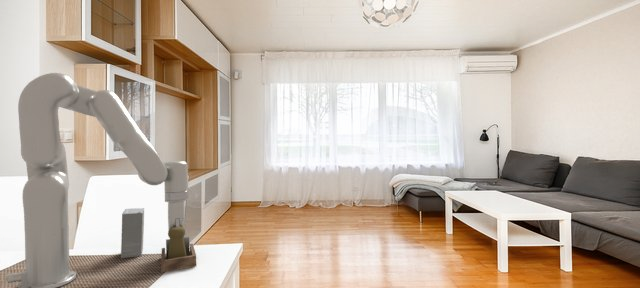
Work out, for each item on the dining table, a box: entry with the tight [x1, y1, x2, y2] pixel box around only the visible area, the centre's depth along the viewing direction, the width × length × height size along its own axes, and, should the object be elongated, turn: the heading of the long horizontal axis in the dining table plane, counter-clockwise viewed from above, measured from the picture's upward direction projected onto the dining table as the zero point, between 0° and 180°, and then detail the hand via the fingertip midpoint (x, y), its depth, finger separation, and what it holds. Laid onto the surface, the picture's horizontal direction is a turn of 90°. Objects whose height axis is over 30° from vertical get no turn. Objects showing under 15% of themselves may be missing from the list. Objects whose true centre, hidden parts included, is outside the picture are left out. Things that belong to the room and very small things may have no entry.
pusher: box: [165, 236, 190, 258], centre depth 108 cm, size 7×1×6 cm, turn 116°
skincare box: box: [120, 207, 145, 259], centre depth 114 cm, size 8×7×16 cm
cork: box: [167, 227, 187, 259], centre depth 104 cm, size 6×6×11 cm
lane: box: [160, 243, 197, 273], centre depth 106 cm, size 10×14×3 cm
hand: (177, 248), depth 111 cm, fingers closed
